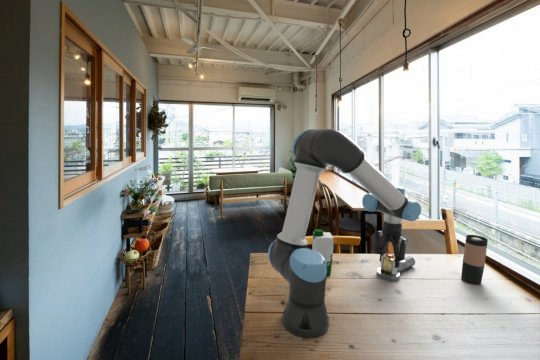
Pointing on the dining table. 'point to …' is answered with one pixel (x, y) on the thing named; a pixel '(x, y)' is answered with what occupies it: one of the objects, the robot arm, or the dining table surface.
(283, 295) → the dining table surface
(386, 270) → the yellow jar pink lid
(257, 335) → the dining table surface
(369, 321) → the dining table surface
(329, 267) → the milk carton
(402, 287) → the dining table surface
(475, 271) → the travel mug
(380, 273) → the grey ring-headed tool
